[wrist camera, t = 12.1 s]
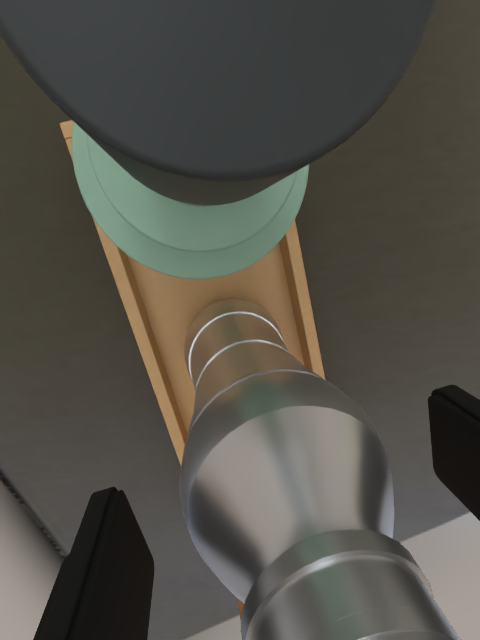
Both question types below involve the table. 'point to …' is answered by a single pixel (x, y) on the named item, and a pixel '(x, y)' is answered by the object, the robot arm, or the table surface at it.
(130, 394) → the table surface
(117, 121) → the sage bottle
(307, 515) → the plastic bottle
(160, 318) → the tray
